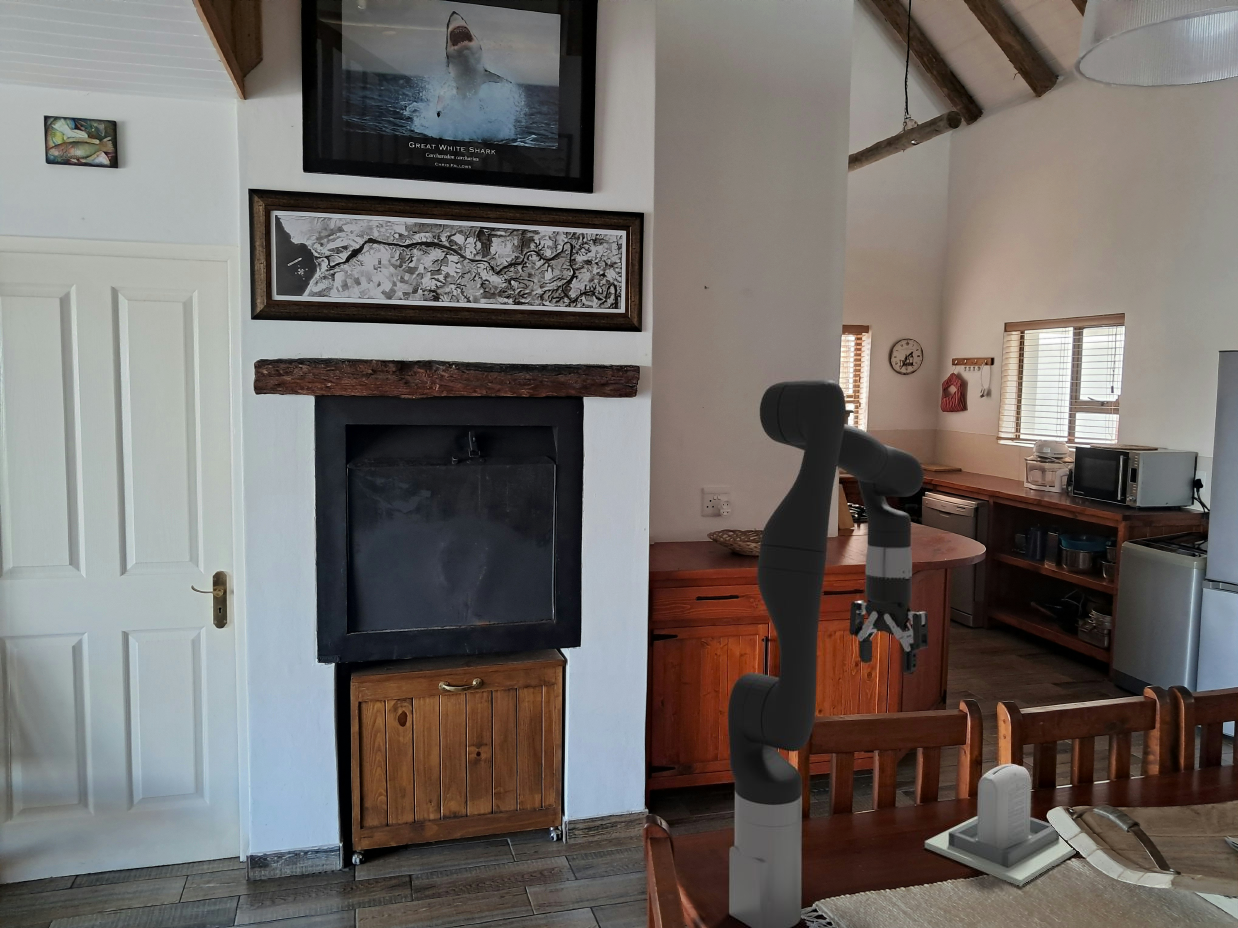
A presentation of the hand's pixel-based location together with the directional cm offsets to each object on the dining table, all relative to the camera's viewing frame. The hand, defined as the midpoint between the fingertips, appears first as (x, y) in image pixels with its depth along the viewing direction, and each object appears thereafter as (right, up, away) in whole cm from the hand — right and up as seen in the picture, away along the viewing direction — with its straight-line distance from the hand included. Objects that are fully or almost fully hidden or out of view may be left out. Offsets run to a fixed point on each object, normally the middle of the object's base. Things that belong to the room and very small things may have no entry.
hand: (887, 667), depth 151 cm
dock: (+17, -28, -7) cm, 33 cm away
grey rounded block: (+17, -27, -7) cm, 32 cm away
